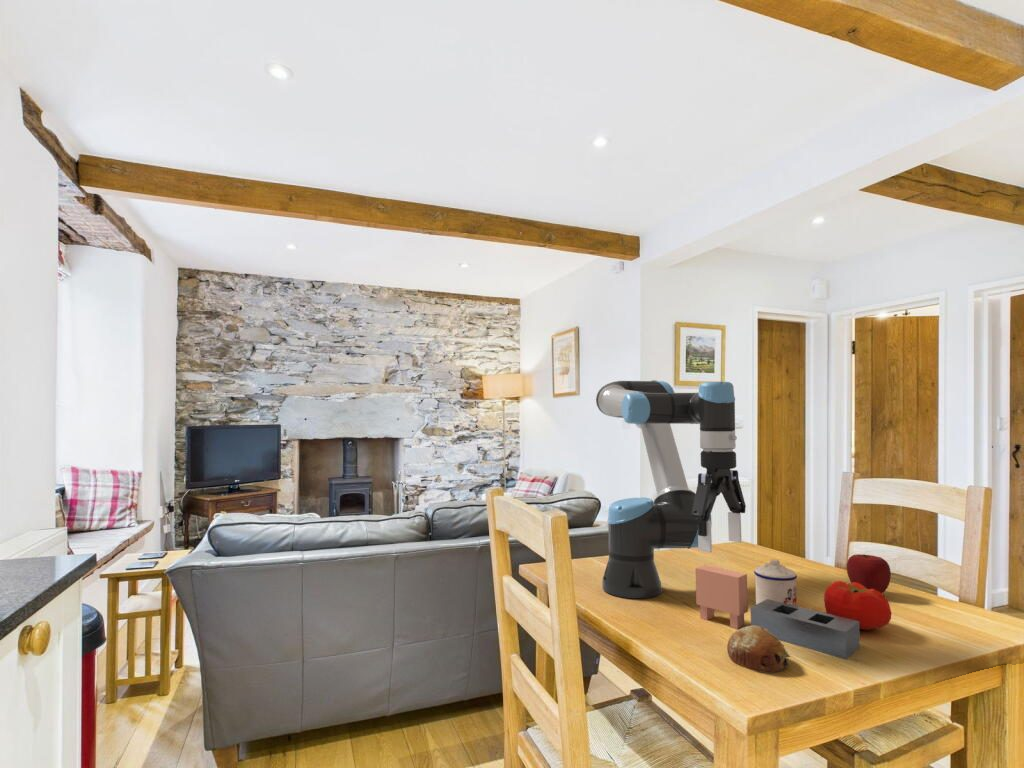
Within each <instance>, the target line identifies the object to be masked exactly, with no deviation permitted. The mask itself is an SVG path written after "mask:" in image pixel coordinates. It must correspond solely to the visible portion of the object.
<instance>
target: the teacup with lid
mask: <svg viewBox="0 0 1024 768" xmlns="http://www.w3.org/2000/svg"><path fill="white" fill-rule="evenodd" d="M753 574H754V576H755V577H754V579H755V581H754V582H755V605H757V604H758V603H760V602H762V601H764V600H766V599H769V600H773V601H777V602H781V603H785V604H789V605H794V606H798V605H797V604H798V603H797V599H798V598H797V577H798V575H797V573H796V572H795V571H794V570H793V569H790V568H787V567H786V566H785V565H783V564H780V560H779V559H774V558H773V559H770V560H769V563H766V564H764V565H761V566H756V567H755V569H754V571H753Z"/></svg>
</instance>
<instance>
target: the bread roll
mask: <svg viewBox="0 0 1024 768" xmlns="http://www.w3.org/2000/svg"><path fill="white" fill-rule="evenodd" d="M726 646H727V654H728V657H729V659H730V660H731V661H732V662H733V663H734V664H735V665H736V666H739V667H742V668H745V669H748V670H751V671H754V672H762V673H777V672H780V671H783V670H784V669H785V668H787V667H789V664H788V659H787V658H791V655H790V654H789V653H788V651H786V648H785V645H784V644H783V643H782V642H781V640H779V639H778V638H777V637H776V636H774V635H773V634H772V633H771V632H770V631H768V630H767V629H765V628H762V627H760V626H755V625H753V626H751V625H747V626H742V627H740V628H738V629H736V630H735V631H734V632H733V633H732V634H731V635H730V637H729V639H728V642H727V645H726Z"/></svg>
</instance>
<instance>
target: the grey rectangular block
mask: <svg viewBox="0 0 1024 768" xmlns="http://www.w3.org/2000/svg"><path fill="white" fill-rule="evenodd" d="M753 625H755V626H760V627H762V628H765V629H767V630H768V631H770V632H771V633H772V634H773V635H774V636H776V637H777V638H778V639H779V641H780V642H781V641H782V642H786V643H789V644H792V645H796V646H799V647H803V648H807V649H809V650H813V651H815V652H816V651H817V652H820V653H823V654H827V655H830V656H834V657H837V658H840V659H844V660H847V659H848V658H850V657H851V656H852V655H853V654H854V653H855V652H857V651H858V650H859V649H860V648H861V639H860V638H861V636H860V635H861V634H860V629H859V621H856V620H852V619H848V618H844V617H839V616H835V615H831V614H827V613H826V612H823V611H818V610H815V609H809V608H805V607H801V606H798V605H797V606H794V605H789V604H785V603H781V602H777V601H773V600H769V599H766V600H764V601H762V602H760V603H758V604H757V605H756V604H755V605H753V606H750V626H753Z"/></svg>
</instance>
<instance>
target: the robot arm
mask: <svg viewBox="0 0 1024 768" xmlns="http://www.w3.org/2000/svg"><path fill="white" fill-rule="evenodd" d="M698 386H699V387H698V392H675V390H674V388H673V387H672V386H671V384H670V383H668V382H666V381H664V380H656V379H653V380H618V381H617V380H616V381H613V382H608V383H607V384H605V385H603V386H602V387H601V388H600V389H599V390H598V392H597V394H596V397H595V402H596V406H597V408H598V410H599V411H600V412H601V413H602V414H603V415H604V416H605V415H606V416H607V417H611V418H612V417H613V418H618V419H619V418H620V419H621V418H623V421H624V422H625V423H626V424H632V425H633V424H635V426H636V427H637V428H639V429H641V432H642V433H641V434H642V436H643V437H642V438H643V440H644V441H643V442H644V445H645V449H646V452H647V453H646V454H647V457H648V461H649V462H648V463H649V466H650V470H651V473H652V478H653V482H654V485H655V486H654V487H655V491H656V496H655V498H654V500H653V499H652V498H650V497H628V498H622V499H619V500H616V501H614V502H612V503H611V504H610V505H609V507H608V513H607V514H608V515H607V517H608V518H607V525H608V526H607V528H608V530H607V531H608V532H607V533H608V560H607V564H606V566H605V571H604V573H603V577H602V580H601V581H602V583H601V585H602V587H601V588H602V590H603V591H604V592H605V593H607V594H609V595H612V596H615V597H618V598H627V599H647V598H648V599H649V598H654V597H657V596H659V595H661V593H662V581H661V579H660V576H659V572H658V569H657V566H656V563H655V557H654V556H655V553H654V552H655V549H656V550H657V549H658V550H659V549H660V550H661V549H666V550H667V549H689V550H690V549H694V548H696V549H698V551H700V552H706V553H712V552H713V548H712V547H713V539H712V523H713V522H712V512H713V508H714V505H715V503H716V500H717V497H718V496H720V494H722V496H723V499H724V501H725V503H726V505H727V508H728V509H729V512H727V523H728V524H727V525H728V526H727V528H728V531H727V532H728V542H732V543H733V542H734V543H742V542H743V541H742V516H741V515H742V514H745V513H746V507H747V506H746V502H745V498H744V495H743V491H742V487H741V484H740V480H739V471H738V470H737V469H736V467H737V453H736V451H734V450H735V449H736V443H737V442H736V440H737V439H738V438H737V436H736V405H735V401H736V396H735V391H734V390H735V389H734V385H733V383H732V382H730V381H704V382H701V383H699V385H698ZM673 424H675V425H676V424H677V425H678V424H680V425H681V424H683V425H686V424H690V425H694V424H695V425H699V436H700V437H699V448H700V449H702V451H701V452H700V466H701V468H704V469H706V473H698V475H697V487H696V491H695V492H694V490H691V489H689V485H688V482H687V479H686V475H685V472H684V469H683V464H682V461H681V458H680V453H679V451H678V448H677V443H676V439H675V436H674V432H673V429H672V425H673ZM735 469H736V470H735Z"/></svg>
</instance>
